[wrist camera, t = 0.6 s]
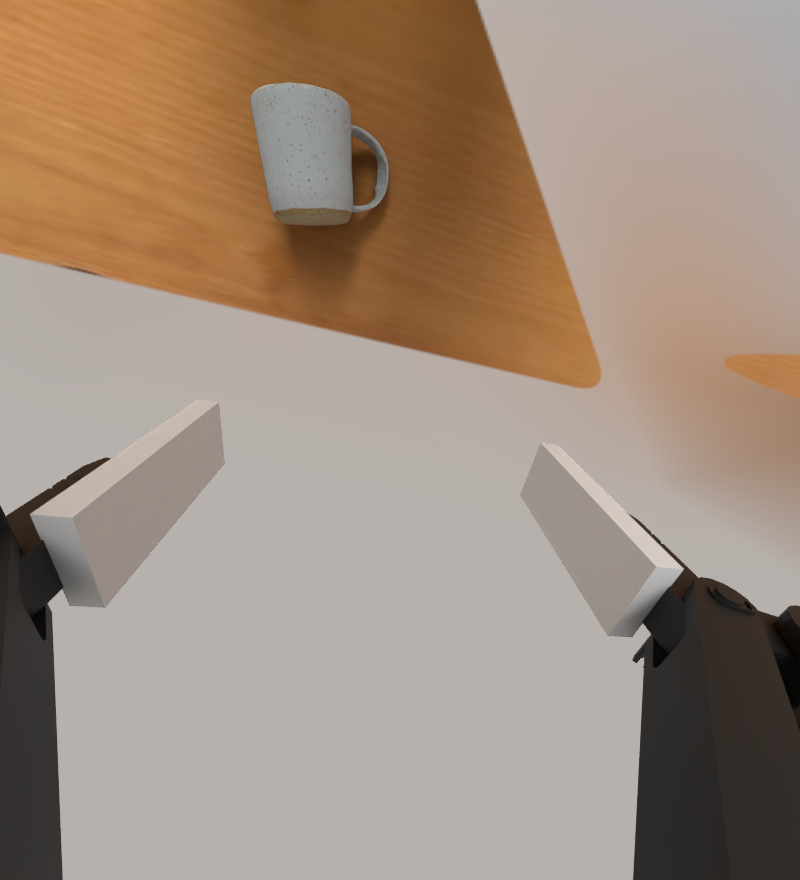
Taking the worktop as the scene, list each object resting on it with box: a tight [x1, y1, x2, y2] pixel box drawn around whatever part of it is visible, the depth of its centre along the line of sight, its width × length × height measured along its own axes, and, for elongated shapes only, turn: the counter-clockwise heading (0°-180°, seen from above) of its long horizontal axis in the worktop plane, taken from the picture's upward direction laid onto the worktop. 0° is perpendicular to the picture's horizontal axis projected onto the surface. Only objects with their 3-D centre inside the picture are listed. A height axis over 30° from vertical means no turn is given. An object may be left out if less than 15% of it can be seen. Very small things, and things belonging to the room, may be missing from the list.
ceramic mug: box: [250, 83, 389, 226], centre depth 28 cm, size 11×8×8 cm
